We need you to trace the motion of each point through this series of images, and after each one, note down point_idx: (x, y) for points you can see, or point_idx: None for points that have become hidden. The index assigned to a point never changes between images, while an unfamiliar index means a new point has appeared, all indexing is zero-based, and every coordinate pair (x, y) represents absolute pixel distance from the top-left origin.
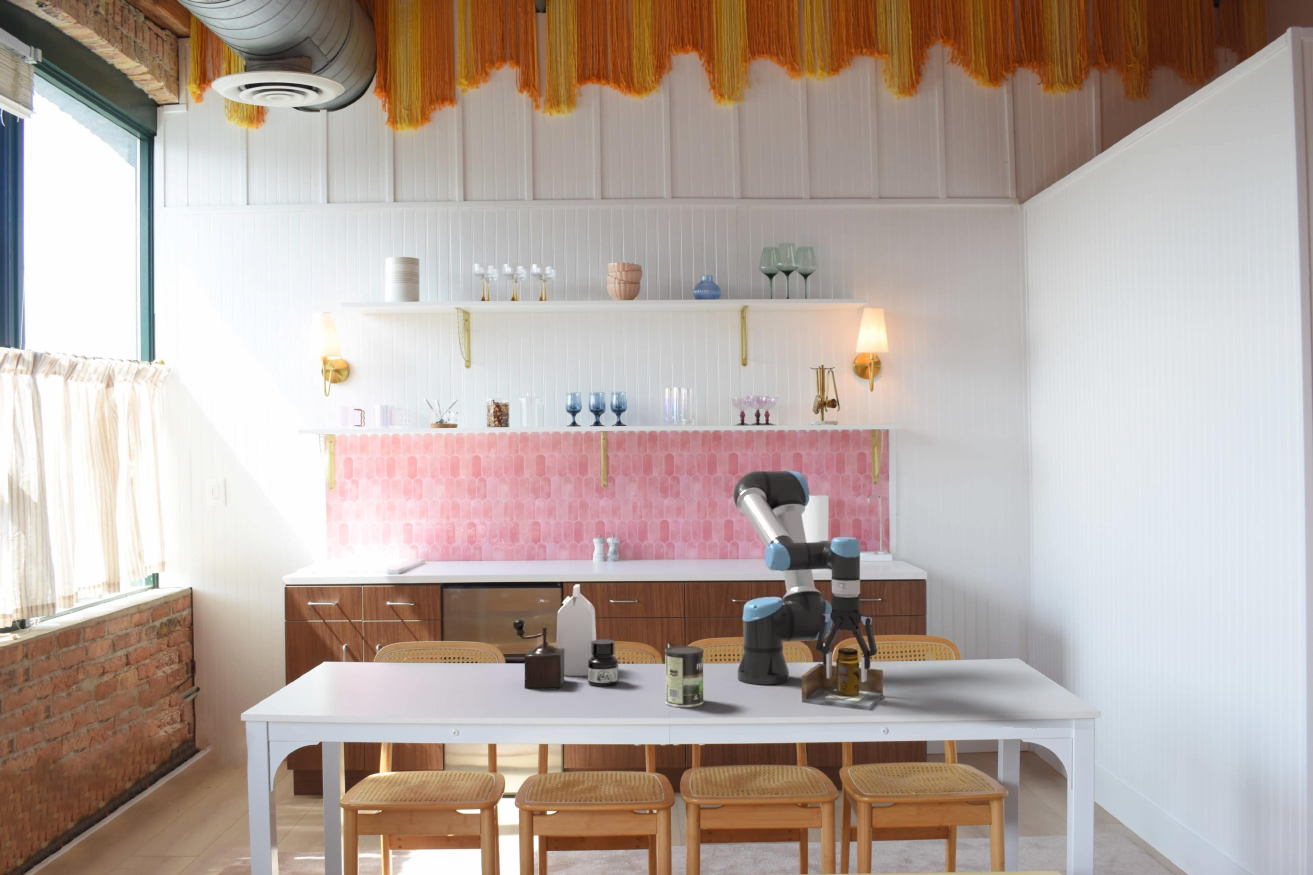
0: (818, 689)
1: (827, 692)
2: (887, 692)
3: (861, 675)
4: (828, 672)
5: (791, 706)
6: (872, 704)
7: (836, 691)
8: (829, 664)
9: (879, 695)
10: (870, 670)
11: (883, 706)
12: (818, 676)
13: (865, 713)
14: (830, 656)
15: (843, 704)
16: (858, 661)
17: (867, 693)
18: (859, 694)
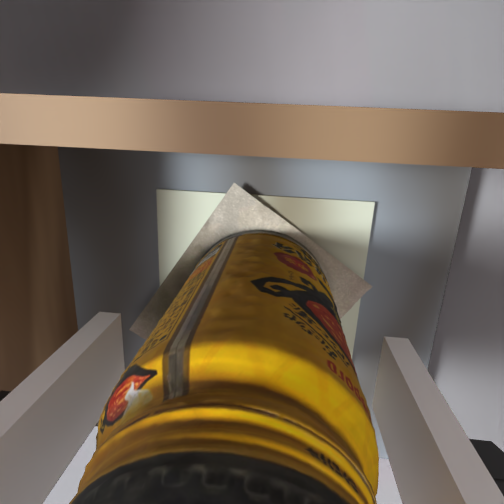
0: (69, 229)
1: (149, 322)
2: (500, 12)
3: (385, 445)
4: (98, 410)
5: (68, 477)
6: None
7: (187, 275)
8: (64, 460)
9: (455, 235)
10: (454, 164)
11: (471, 365)
12: (8, 234)
13: (387, 492)
14: (2, 500)
15: None
16: (376, 487)
17: (372, 211)
18: (331, 285)
